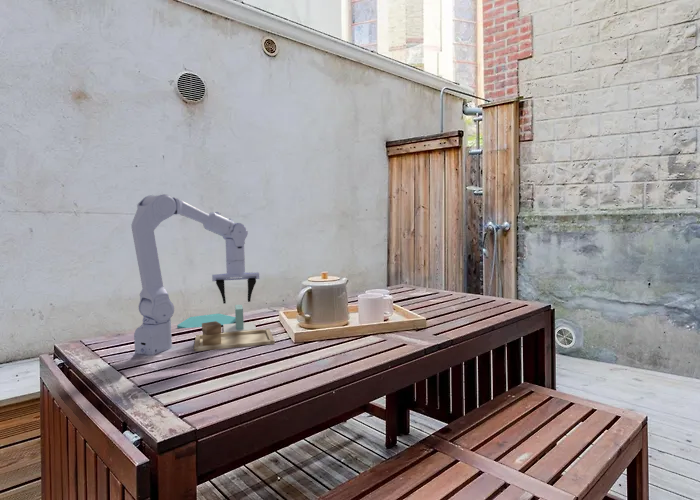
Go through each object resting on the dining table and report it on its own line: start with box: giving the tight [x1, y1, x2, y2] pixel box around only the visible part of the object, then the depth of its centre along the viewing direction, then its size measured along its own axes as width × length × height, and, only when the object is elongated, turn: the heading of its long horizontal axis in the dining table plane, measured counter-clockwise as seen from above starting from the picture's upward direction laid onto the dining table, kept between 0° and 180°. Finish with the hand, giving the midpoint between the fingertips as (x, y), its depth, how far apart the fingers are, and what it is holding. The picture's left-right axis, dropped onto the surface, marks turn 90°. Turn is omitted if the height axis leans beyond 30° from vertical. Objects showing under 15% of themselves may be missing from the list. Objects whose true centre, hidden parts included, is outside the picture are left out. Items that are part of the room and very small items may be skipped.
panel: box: [234, 304, 244, 330], centre depth 142 cm, size 2×7×6 cm, turn 16°
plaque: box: [176, 312, 236, 329], centre depth 154 cm, size 17×2×20 cm
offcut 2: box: [202, 332, 222, 346], centre depth 128 cm, size 5×5×3 cm
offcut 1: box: [201, 321, 222, 335], centre depth 128 cm, size 4×5×2 cm
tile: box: [222, 321, 257, 333], centre depth 143 cm, size 10×10×2 cm
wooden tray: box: [193, 328, 276, 352], centre depth 130 cm, size 22×14×2 cm, turn 107°
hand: (236, 302), depth 142 cm, fingers open, 7 cm apart
